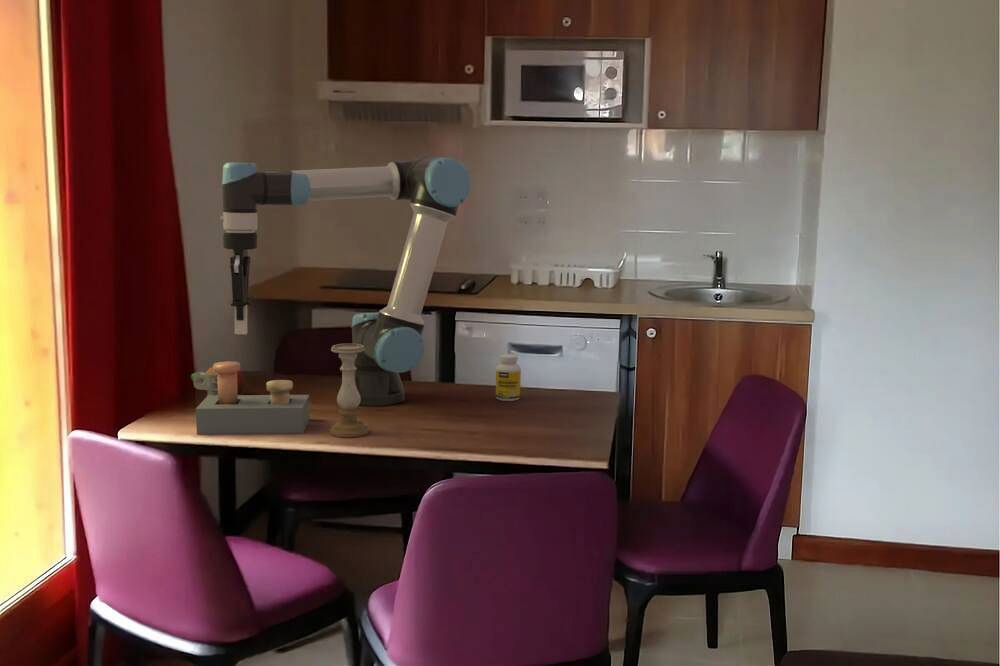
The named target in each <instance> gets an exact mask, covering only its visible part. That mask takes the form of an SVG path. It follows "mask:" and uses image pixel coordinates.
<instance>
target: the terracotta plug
mask: <svg viewBox="0 0 1000 666" xmlns="http://www.w3.org/2000/svg"><path fill="white" fill-rule="evenodd" d="M226 361H227V362H221V361H219V362H218V361H217V362H214V363H213V364H212V365H213V369H214V372H217V380H218V404H238V395H239V394H238V393H237V371H240V370H241V363H240V362H239V361H228V360H226Z"/></svg>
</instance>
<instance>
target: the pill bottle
mask: <svg viewBox="0 0 1000 666" xmlns="http://www.w3.org/2000/svg"><path fill="white" fill-rule="evenodd" d="M499 361H500V363H499V364H498V365H496V367H495V368H496V369H495V398H496V400H499V401H504V402H513V401H514V402H515V401H518V400H519V399H520V398H521V373H522V372H521V367H520V365H519V364H518V363H517V362H518V354H517V355H516V354H511V353H504V354H500V355H499Z"/></svg>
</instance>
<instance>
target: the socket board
mask: <svg viewBox="0 0 1000 666" xmlns="http://www.w3.org/2000/svg"><path fill="white" fill-rule="evenodd" d="M310 415H311V414H310V394H290V404H271V402H270V394H254V395H253V394H252V395H251V394H250V395H249V394H246V395H245V394H238V404H218V395H208V396H207V395H206V397H205V398H203V400H202V401H201V402H200V404H199V405H198V406H197V407H196V408H195V421H196V425H195V426H196V435H255V434H258V435H260V434H261V435H262V434H267V435H268V434H269V435H270V434H271V435H273V434H277V435H278V434H282V435H283V434H304V433H305V430H306V428H307V427H308V424H309V421H310V418H311V417H310Z"/></svg>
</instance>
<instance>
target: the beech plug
mask: <svg viewBox="0 0 1000 666" xmlns="http://www.w3.org/2000/svg"><path fill="white" fill-rule="evenodd" d="M293 388H294V383H293V381H292V380H289V379H273V380H269V381H267V382H266V391H268V392H270V393H269V395H270V402H271V404H290V395H291V393H290V391H292V390H293Z"/></svg>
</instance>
